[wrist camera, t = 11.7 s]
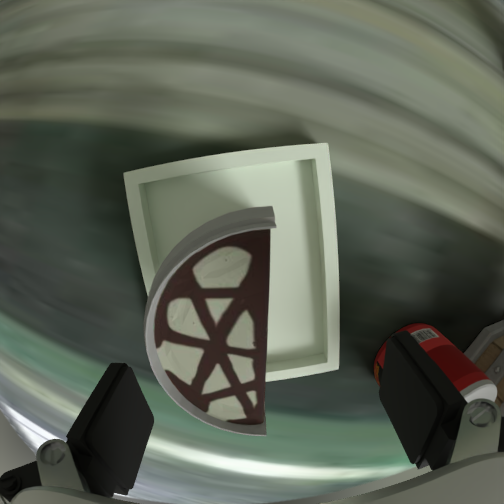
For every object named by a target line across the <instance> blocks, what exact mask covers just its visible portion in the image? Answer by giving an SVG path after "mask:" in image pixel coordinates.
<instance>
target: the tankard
mask: <svg viewBox="0 0 504 504" xmlns="http://www.w3.org/2000/svg"><path fill="white" fill-rule="evenodd" d="M463 354H464V355H466V356H467V357H468V358H469V359H470V360H471V361H472V362H473V363H474V364H475V365H476V366H477V367H478V368H479V369H480V370H481V371H483V372H484V373H485V375H486V376H487V377H488V378H489V379H490V380H491V381H492V382H493V383H494V385H495V386H496V388H497V396H496V399H495V403H496V404H497V405H498V406H499V408H500V410H501V416H502V417H504V320H502V321H500V322H497V323H495V324H493V325H490V326H488V327H485V328H483V330H482V331H481V332H480V334H479V335H478V336H477V337H476V339H475V340H474V341H473V342H472V344H471V345H470V346H469V347H468V349H467V350H466V351H465V352H464V353H463Z"/></svg>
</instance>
